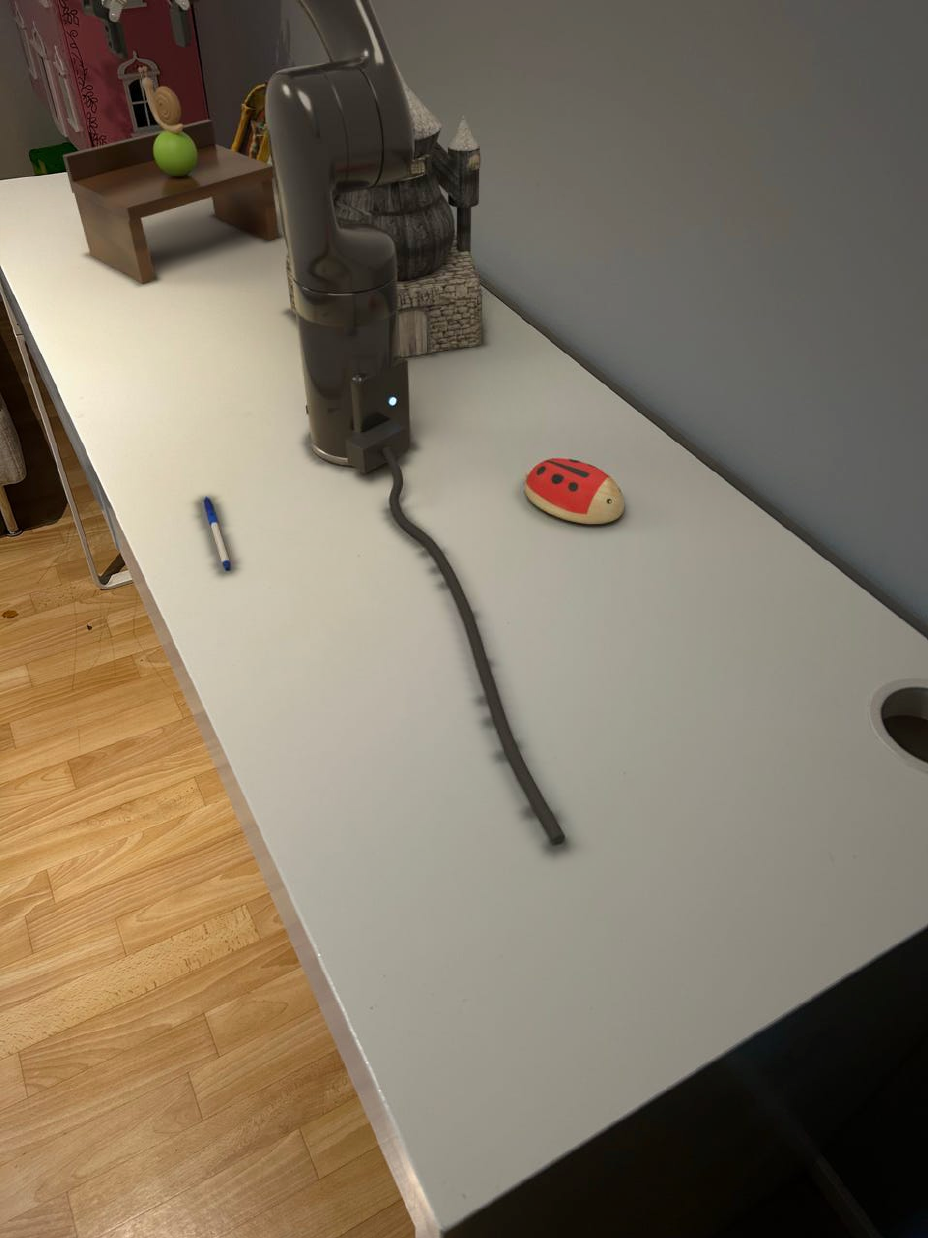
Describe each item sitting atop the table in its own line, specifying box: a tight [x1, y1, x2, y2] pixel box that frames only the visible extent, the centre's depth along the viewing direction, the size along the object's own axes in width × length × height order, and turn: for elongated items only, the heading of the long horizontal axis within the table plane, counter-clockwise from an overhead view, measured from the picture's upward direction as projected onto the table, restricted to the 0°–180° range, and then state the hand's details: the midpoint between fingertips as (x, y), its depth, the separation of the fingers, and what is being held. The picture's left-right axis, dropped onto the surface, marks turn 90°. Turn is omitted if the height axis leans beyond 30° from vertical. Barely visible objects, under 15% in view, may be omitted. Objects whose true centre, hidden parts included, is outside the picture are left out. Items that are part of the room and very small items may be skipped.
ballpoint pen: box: [203, 496, 231, 572], centre depth 82 cm, size 10×1×1 cm, turn 22°
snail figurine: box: [137, 65, 197, 177], centre depth 118 cm, size 5×6×12 cm
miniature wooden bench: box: [62, 119, 280, 285], centre depth 125 cm, size 14×22×13 cm, turn 136°
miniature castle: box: [285, 58, 483, 358], centre depth 102 cm, size 22×16×30 cm
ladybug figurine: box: [524, 457, 625, 525], centre depth 85 cm, size 7×10×4 cm
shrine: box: [230, 78, 271, 164], centre depth 141 cm, size 12×8×15 cm
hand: (153, 51), depth 112 cm, fingers open, 8 cm apart
